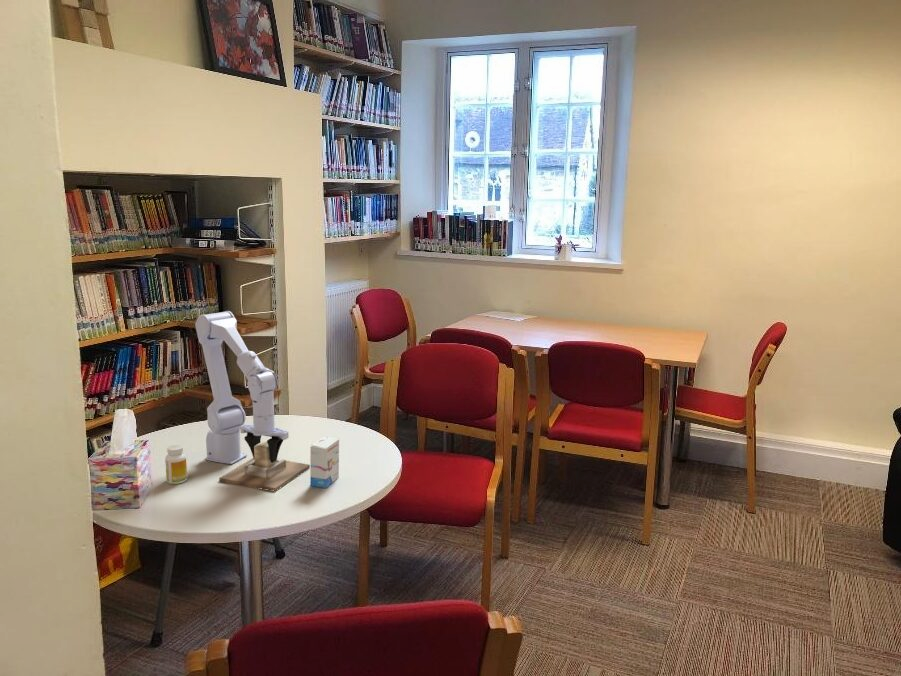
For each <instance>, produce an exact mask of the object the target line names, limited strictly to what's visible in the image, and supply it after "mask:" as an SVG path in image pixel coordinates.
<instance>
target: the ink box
mask: <svg viewBox="0 0 901 676" xmlns="http://www.w3.org/2000/svg"><path fill="white" fill-rule="evenodd" d="M309 465H310V468H309V469H310V475H309V476H310V482H309V483H310V487H315V486H316V487H315V488H321V489H326V487H327V488H328V487H329V486H330V485H332V483H334V482H335V481H336V480H337V479H338V478H339V475H340V474H339V471H340V439H339V438H335V437H329V436H323V437H321V438H319V439H318V440H316V441H314V443H312V444H311V446H310V464H309Z"/></svg>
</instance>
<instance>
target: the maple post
mask: <svg viewBox="0 0 901 676" xmlns="http://www.w3.org/2000/svg"><path fill="white" fill-rule="evenodd" d="M254 458H255V466H260V467H265V468H269V467H271V466H272V465H274V464H275V462H273V463H272V462H271V461H270V450H269V446H268V443H267V441H260V443H259V444H257V445H255V446H254Z"/></svg>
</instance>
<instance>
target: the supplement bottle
mask: <svg viewBox="0 0 901 676" xmlns="http://www.w3.org/2000/svg"><path fill="white" fill-rule="evenodd" d="M166 450H167V454H166V456H165V458H164V461H165V476H166V482H167V483H168V484H170V485H178V484H179V485H180V484H182V483H185V482H186V481H187V480H188V471H187V470H188V468H187V465H188V464H187V455H186V454H185V452H184V447H183V446H182V445H180V444H176V445H175V444H174V445H169V446H168V447H167V449H166Z"/></svg>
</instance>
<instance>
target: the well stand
mask: <svg viewBox="0 0 901 676" xmlns="http://www.w3.org/2000/svg"><path fill="white" fill-rule="evenodd" d="M308 468H309V469H310V468H311V467H310V464H307V463H301V462H295V461H290V460H286V459H282V458H277V460H276V461H275V464H274V465H272V466H271V467H269V468H265V467H260V466H255V460H254V458H253V457H252V458H251V459H249V460H247V461H246V462H243V464H241V465H239V466H237V467H235V468H234V469H231V470H230V471H228V472H227V473H225V474H223V475H222V476H220V477H219V478H218V479H219V482H221V483H226V484H231V483H232V485H237V486H242V485H243V486H244V487H248V486H249V487H248V488H253V487H255V488H254V489H258V488H262V489H261V490H264V489H268V490H267V491H269V490H274V491H276V490H277V489H278V490H280V489H281V488H283V487H285V486H286V485H287V484H289V483H290V482H291V480H292V481H293V480H294V479H296V478H297V477H299V476H301V475H302V474H303V473H304V471H305V472H306V471H307V470H309V469H308ZM301 473H302V474H301ZM298 475H299V476H298ZM288 482H289V483H288ZM285 484H286V485H285ZM243 486H242V487H243ZM282 486H283V487H282ZM280 487H281V488H280ZM279 488H280V489H279ZM278 490H277V491H278ZM274 491H273V492H274ZM277 491H276V492H277Z"/></svg>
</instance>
